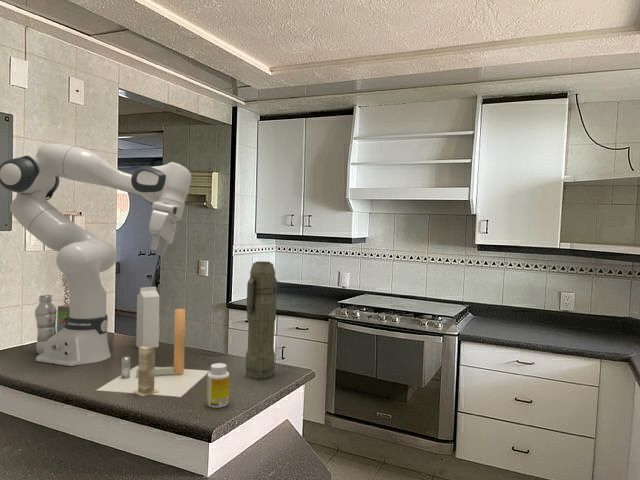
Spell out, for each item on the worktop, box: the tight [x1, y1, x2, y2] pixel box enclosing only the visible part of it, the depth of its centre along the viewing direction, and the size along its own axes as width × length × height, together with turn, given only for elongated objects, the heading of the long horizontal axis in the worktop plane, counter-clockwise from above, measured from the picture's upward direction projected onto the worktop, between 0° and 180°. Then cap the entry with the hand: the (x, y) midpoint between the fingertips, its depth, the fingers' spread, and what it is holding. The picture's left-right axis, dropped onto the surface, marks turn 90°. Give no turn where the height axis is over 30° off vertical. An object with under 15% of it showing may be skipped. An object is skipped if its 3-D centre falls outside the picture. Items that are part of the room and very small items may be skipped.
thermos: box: [245, 260, 278, 381], centre depth 147 cm, size 9×12×35 cm
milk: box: [135, 286, 160, 349], centre depth 175 cm, size 6×6×22 cm
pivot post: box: [120, 355, 131, 379], centre depth 140 cm, size 2×2×6 cm
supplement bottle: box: [206, 362, 230, 409], centre depth 123 cm, size 6×6×10 cm
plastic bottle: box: [34, 294, 58, 355], centre depth 163 cm, size 6×7×20 cm
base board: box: [96, 365, 211, 399], centre depth 139 cm, size 24×22×1 cm
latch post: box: [132, 345, 160, 398], centre depth 129 cm, size 5×5×13 cm
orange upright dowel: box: [136, 308, 186, 376], centre depth 143 cm, size 14×3×19 cm, turn 108°
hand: (156, 252), depth 153 cm, fingers open, 8 cm apart
